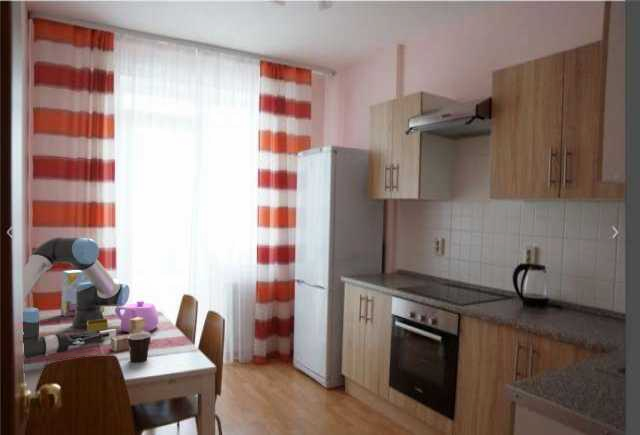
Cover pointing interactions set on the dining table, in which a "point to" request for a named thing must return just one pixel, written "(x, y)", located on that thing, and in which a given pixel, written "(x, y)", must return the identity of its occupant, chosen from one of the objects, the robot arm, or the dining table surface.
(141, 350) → the coffee mug
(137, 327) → the oak block
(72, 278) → the snack box
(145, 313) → the teapot
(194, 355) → the dining table surface
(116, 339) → the walnut block
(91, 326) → the flower pot
